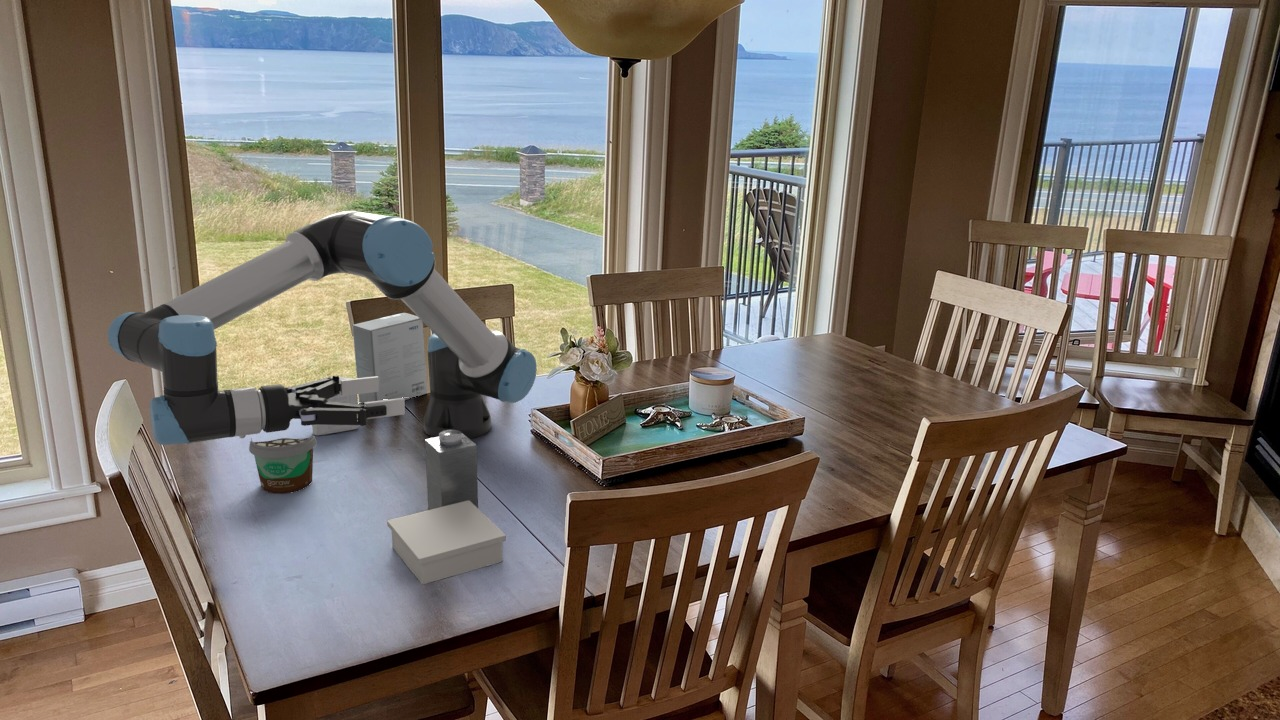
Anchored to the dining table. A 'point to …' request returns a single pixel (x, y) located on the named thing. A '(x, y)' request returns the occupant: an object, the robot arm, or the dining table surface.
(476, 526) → the plinth
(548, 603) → the dining table surface
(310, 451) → the food container
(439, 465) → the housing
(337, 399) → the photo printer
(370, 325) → the hard drive box
